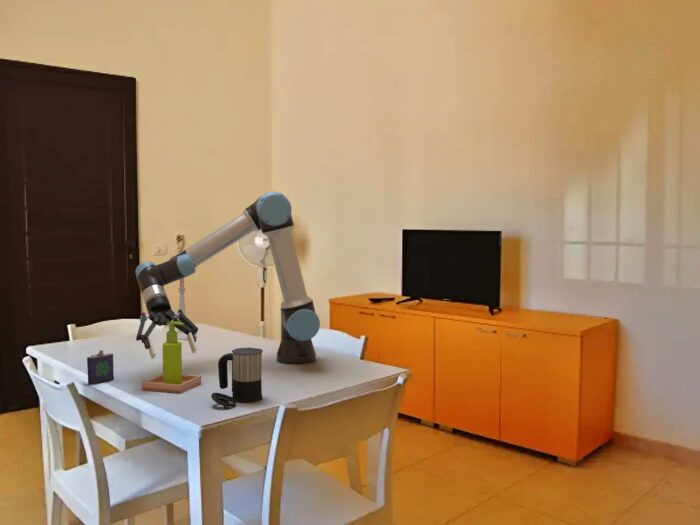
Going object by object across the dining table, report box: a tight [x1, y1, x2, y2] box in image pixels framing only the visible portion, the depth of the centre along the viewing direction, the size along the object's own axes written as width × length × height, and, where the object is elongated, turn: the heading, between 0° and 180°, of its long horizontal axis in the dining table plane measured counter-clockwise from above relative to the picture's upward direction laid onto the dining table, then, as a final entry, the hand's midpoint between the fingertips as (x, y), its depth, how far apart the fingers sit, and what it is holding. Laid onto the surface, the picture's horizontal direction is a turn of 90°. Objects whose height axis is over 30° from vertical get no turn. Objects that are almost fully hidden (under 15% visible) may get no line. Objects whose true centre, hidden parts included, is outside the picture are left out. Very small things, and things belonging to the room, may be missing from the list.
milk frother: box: [210, 347, 264, 408], centre depth 191 cm, size 14×16×15 cm
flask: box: [86, 349, 115, 386], centre depth 214 cm, size 9×3×11 cm, turn 144°
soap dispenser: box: [162, 321, 185, 385], centre depth 208 cm, size 6×7×20 cm
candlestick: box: [176, 277, 198, 341], centre depth 294 cm, size 13×13×30 cm
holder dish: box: [142, 373, 202, 394], centre depth 208 cm, size 14×13×2 cm
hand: (174, 353), depth 206 cm, fingers open, 13 cm apart
